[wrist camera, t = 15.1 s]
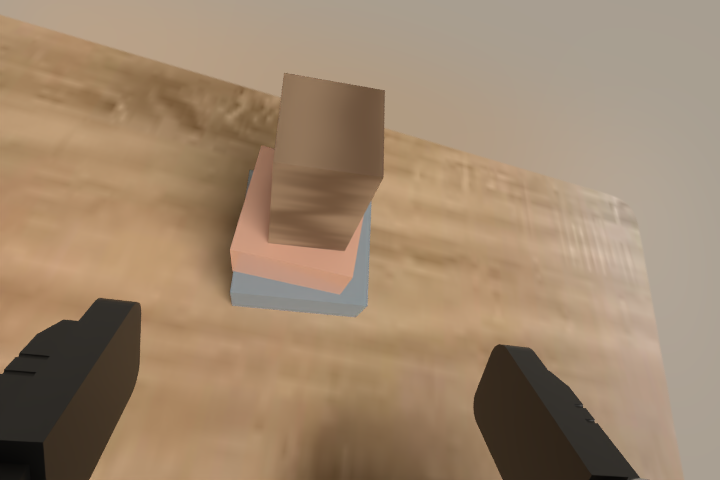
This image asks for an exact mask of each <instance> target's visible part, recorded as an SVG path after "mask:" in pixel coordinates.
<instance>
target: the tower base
mask: <svg viewBox="0 0 720 480" xmlns="http://www.w3.org/2000/svg"><path fill="white" fill-rule="evenodd" d="M252 175H253V170H250V171H249V178H248V184H247V190H246V195H247V191H248V188H249V185H250V181H251V178H252ZM245 198H246V196H245ZM370 225H371V202H370V204H369V206H368V208H367V210H366V212H365V213H364V216H363V222H362V228H361V233H360V239H359V245H358V250H357V256H356V262H355V267H354V273H353V278H352V279H351V281H350V282H349V283H348V285H347V286H346V287H345V289H344V290H343V291H342V293H341V294H340V295H339V294H334V293H330V292H325V291H321V290H316V289H312V288H307V287H303V286H298V285H294V284H289V283H285V282H280V281H276V280H271V279H267V278H262V277H258V276H253V275H249V274H244V273H240V272H235V271H233V277H232V283H231V290H230V295H231V301H232V306H242V307H252V308H263V309H273V310H284V311H295V312H305V313H316V314H327V315H337V316H348V317H356V316H357V315H358V314H359V313H360V312H362V311H363V310H364V309H365V308H366V307H367V303H368V277H369V251H370Z"/></svg>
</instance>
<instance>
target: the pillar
mask: <svg viewBox="0 0 720 480" xmlns="http://www.w3.org/2000/svg"><path fill="white" fill-rule="evenodd" d="M384 101H385V91H384V90H379V89H373V88H368V87H362V86H356V85H350V84H345V83H339V82H333V81H328V80H322V79H316V78H310V77H305V76H299V75H294V74H288V73H284V78H283V86H282V95H281V103H280V111H279V119H278V127H277V135H276V143H275V151H274V160H273V173H272V190H271V207H270V223H269V240H268V243H272V244H281V245H291V246H300V247H310V248H319V249H329V250H338V251H345V250H346V248H347V246H348V244H349V242H350V240H351V238H352V236H353V234H354V232H355V231H356V229H357V227H358V225H359V223H360V221H361V219H362V217H363V215H364V213H365V212H366V210H367V208H368V206H369V204H370V202H371V200H372V198H373V196H374V194H375V192H376V191H377V189H378V187H379V185H380V183H381V181H382V179H383V173H384Z"/></svg>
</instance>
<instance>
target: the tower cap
mask: <svg viewBox="0 0 720 480" xmlns="http://www.w3.org/2000/svg"><path fill="white" fill-rule="evenodd" d="M274 151H275V149H273V148H270V147H266V146H262V145H261V148H260V152H259V155H258V158H257V161H256V165H255V168H254V171H253V175H252V178H251V181H250V185H249V188H248V191H247V195H246V198H245V201H244V204H243V208H242V211H241V214H240V218H239V221H238V224H237V228H236V231H235V234H234V237H233V241H232V244H231V247H230V255H231V263H232V271H235V272H240V273H244V274H249V275H253V276H258V277H262V278H267V279H271V280H276V281H280V282H285V283H289V284H294V285H298V286H303V287H307V288H312V289H316V290H321V291H325V292H330V293H334V294H339V295H340V294H341V293H342V291H343V290H344V289H345V287H346V286H347V285H348V283H349V282H350V281H351V279H352V278H353V273H354V267H355V262H356V256H357V250H358V245H359V239H360V233H361V228H362V222H363V217H362V219H361V221H360V223H359V225H358V227H357V229H356V231H355V232H354V234H353V236H352V238H351V240H350V242H349V244H348V246H347V248H346V250H345V251H338V250H329V249H319V248H310V247H300V246H291V245H281V244H272V243H268V240H269V223H270V207H271V190H272V173H273V160H274ZM363 216H364V215H363Z"/></svg>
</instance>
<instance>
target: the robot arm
mask: <svg viewBox="0 0 720 480" xmlns="http://www.w3.org/2000/svg"><path fill="white" fill-rule="evenodd" d="M140 333H141V306H140V303H138V302H131V301H122V300H113V299H104V298H98V299H97V300H96V301H95V302H94V303H93V304H92V305H91V307H90V308H89V309H88V310H87V312H86V313H85V314H84V315H83V316H82V318H81V319H80V320H79V321H72V320H62V321H60V322H58V323H57V324H55V325H53V326H51V327H49V328H47V329H46V330H44V331H42V332H40V333H38V334H37V335H36V336H35V337H34V338H33V339H32V340H31V341H30V342H29V343H28V345H27V346H26V347H25V348H24V349H23V350H22V351H21V352H20V353H19V357H15V359H14V360H13V361H12V362H11V363H10V364H9V365H8V366H7V367H6V368H5V369H4V373H3V374H0V480H89V479H90V477H91V475H92V473H93V471H94V469H95V467H96V465H97V463H98V461H99V459H100V457H101V455H102V453H103V451H104V449H105V447H106V445H107V443H108V441H109V439H110V437H111V435H112V433H113V431H114V429H115V427H116V425H117V423H118V421H119V419H120V417H121V415H122V413H123V410H124V408H125V406H126V404H127V402H128V400H129V398H130V396H131V394H132V392H133V389H134V387H135V384H136V380H137V376H138V371H139V363H140ZM474 416H475V420H476V422H477V425H478V427H479V429H480V431H481V433H482V435H483V438H484V440H485V442H486V444H487V446H488V448H489V451H490V453H491V455H492V457H493V459H494V462H495V464H496V466H497V468H498V470H499V472H500V475H501V477H502V479H503V480H648V479H641V478H640V477H639V476H638V475H637V473H636V472H635V471H634V469H633V468H632V467H631V466H630V464H629V463H628V462H627V461H626V459H625V458H624V457H623V455H622V454H621V453H620V452H619V450H618V449H617V448H616V446H615V445H614V444H613V443H612V441H611V440H610V439H609V437H608V436H607V435H606V434H605V432H604V431H603V430H602V428H601V427H600V426H599V425H598V423H595V422H594V420H595V419H594V418H593V417H592V416H591V414H590V413H589V412H588V411H587V409H586V408H583V404H582V403H581V402H580V400H579V399H578V398H577V396H576V395H575V394H574V393H573V391H572V390H571V389H570V387H569V386H567V385H566V384H565V383H564V382H562V381H561V380H560V379H559V378H558V377H556V376H555V375H554V374H553V373H551V372H550V371H548V370H547V368H546V367H545V366H544V364H543V363H542V362H541V360H540V359H539V358H538V356H537V355H536V354H535V352H534V351H533V350H532V349H530V348H527V347H518V346H510V345H500V344H499V345H497V346H495V347H494V349H493V350H492V352H491V355H490V357H489V360H488V362H487V365H486V368H485V370H484V373H483V375H482V378H481V380H480V383H479V385H478V388H477V391H476V393H475V397H474Z"/></svg>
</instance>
